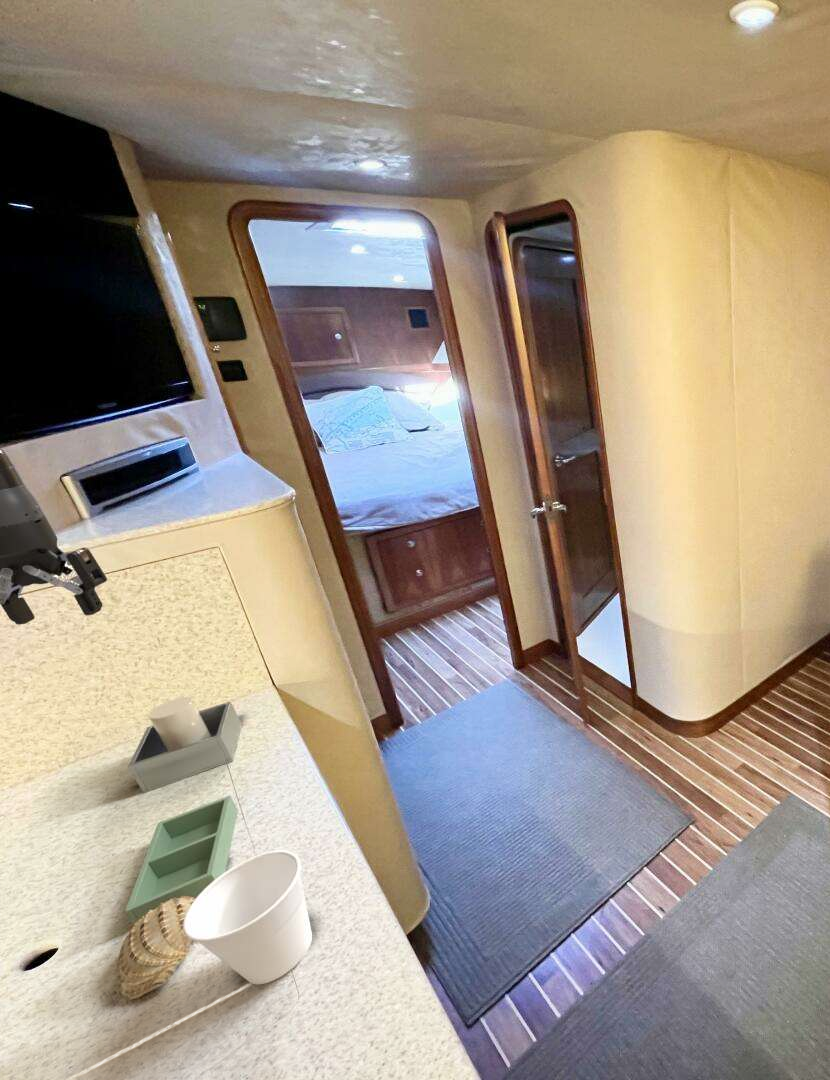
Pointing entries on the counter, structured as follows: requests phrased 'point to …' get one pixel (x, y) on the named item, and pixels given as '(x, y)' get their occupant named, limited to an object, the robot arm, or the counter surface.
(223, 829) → the divided tray
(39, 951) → the counter surface
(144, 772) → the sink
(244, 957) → the cup
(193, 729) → the cream round block
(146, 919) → the seashell
